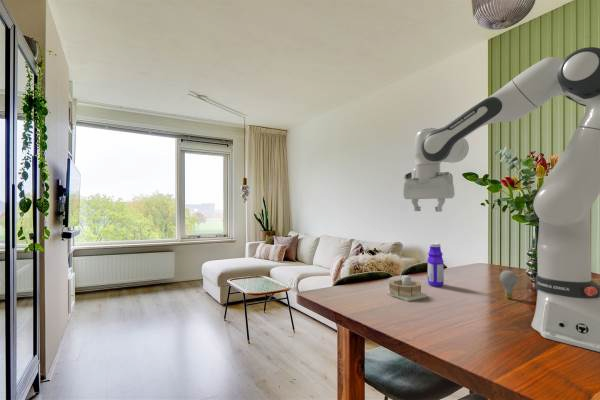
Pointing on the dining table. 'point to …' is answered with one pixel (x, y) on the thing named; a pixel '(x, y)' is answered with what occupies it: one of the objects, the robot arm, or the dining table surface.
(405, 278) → the square peg stand
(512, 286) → the light bulb
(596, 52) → the robot arm
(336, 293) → the dining table surface
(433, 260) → the bottle
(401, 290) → the ring
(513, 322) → the dining table surface
